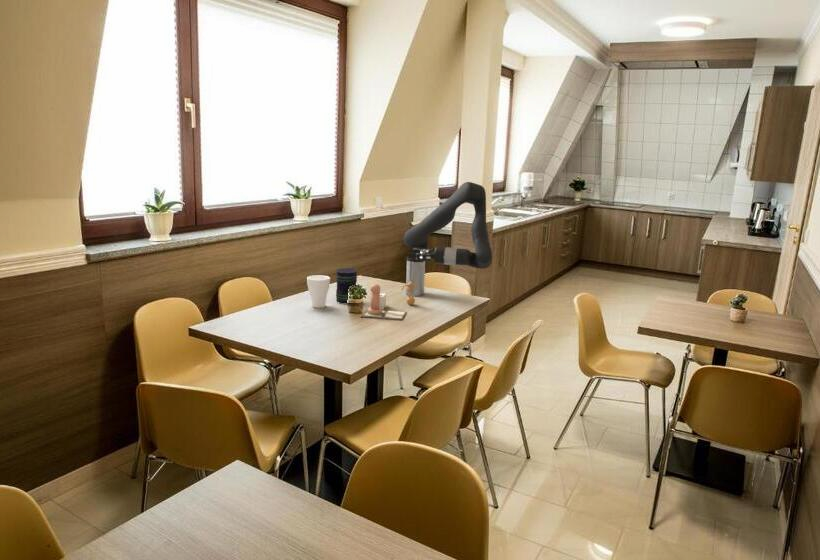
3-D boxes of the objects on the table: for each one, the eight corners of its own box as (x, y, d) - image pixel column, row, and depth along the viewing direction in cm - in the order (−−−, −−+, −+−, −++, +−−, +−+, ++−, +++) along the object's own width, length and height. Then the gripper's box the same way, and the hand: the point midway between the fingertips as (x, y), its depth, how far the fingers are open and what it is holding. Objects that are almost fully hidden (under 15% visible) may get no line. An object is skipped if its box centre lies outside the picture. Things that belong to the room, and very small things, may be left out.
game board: (366, 310, 269) (366, 308, 269) (406, 312, 266) (406, 311, 266) (360, 317, 258) (360, 315, 257) (402, 320, 255) (402, 318, 255)
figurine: (419, 304, 281) (420, 279, 279) (418, 307, 276) (418, 282, 273) (402, 303, 283) (403, 278, 280) (400, 306, 277) (401, 281, 274)
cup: (322, 310, 267) (322, 281, 264) (302, 307, 270) (302, 278, 267) (334, 304, 276) (334, 276, 273) (314, 302, 280) (314, 274, 277)
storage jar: (340, 297, 289) (340, 267, 286) (359, 299, 287) (359, 269, 284) (332, 302, 280) (332, 271, 277) (352, 304, 278) (352, 273, 274)
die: (373, 305, 278) (373, 292, 276) (385, 306, 277) (386, 293, 275) (370, 308, 272) (370, 295, 270) (383, 309, 271) (383, 296, 270)
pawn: (369, 310, 266) (369, 281, 263) (383, 311, 265) (384, 282, 262) (366, 314, 260) (366, 285, 257) (380, 315, 259) (381, 286, 256)
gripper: (448, 244, 263) (411, 242, 265) (444, 250, 249) (406, 247, 252) (447, 261, 265) (411, 258, 267) (443, 267, 251) (406, 265, 253)
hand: (409, 253), depth 259 cm, fingers open, 8 cm apart
